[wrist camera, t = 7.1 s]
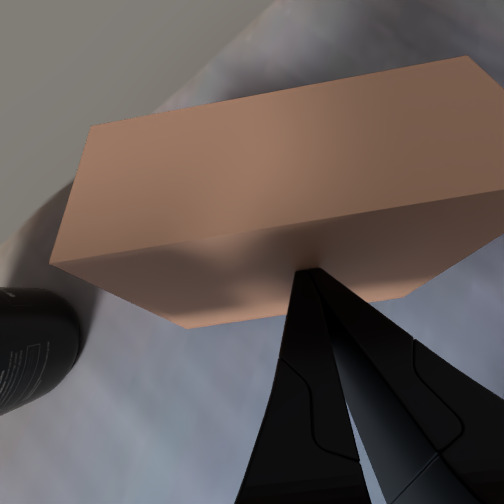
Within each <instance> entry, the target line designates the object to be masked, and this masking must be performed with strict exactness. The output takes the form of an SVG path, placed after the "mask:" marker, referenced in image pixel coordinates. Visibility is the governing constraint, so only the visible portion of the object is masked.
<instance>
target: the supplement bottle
mask: <svg viewBox="0 0 504 504" xmlns="http://www.w3.org/2000/svg"><path fill="white" fill-rule="evenodd" d="M79 343H80V329H79V323H78V320H77V317H76V315H75V312H74V311H73V309H72V307H71V306H70V305H69V304H68V302H67V301H66V300H64V299H63V298H62V297H61V296H59V295H58V294H56V293H54V292H51V291H48V290H45V289H38V288H15V287H0V416H1V415H3V414H6V413H8V412H10V411H12V410H14V409H17V408H19V407H21V406H23V405H25V404H27V403H30V402H32V401H34V400H36V399H38V398H40V397H42V396H44V395H45V394H47V393H48V392H50V391H51V390H52V389H54V388H55V387H56V386H57V385H58V384H59V383H60V382H61V381H62V380H63V379H64V378H65V376H66V375H67V374H68V372H69V371H70V369H71V367H72V365H73V363H74V361H75V359H76V356H77V353H78V349H79Z"/></svg>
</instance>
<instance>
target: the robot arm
mask: <svg viewBox="0 0 504 504" xmlns="http://www.w3.org/2000/svg"><path fill="white" fill-rule="evenodd" d="M345 400H346V401H345ZM346 402H347V405H348V407H349V410H350V412H351V415H352V417H353V420H354V422H355V425H356V427H357V430H358V432H359V435H360V438H361V440H362V443H363V445H364V448H365V450H366V453H367V455H368V458H369V460H370V463H371V465H372V468H373V470H374V473H375V475H376V478H377V480H378V483H379V485H380V488H381V491H382V493H383V496H384V498H385V501H386V503H387V504H504V399H502V398H500V397H499V396H497V395H496V394H494V393H493V392H491V391H490V390H488V389H486V388H485V387H483V386H482V385H480V384H479V383H477V382H476V381H474V380H473V379H471V378H470V377H468V376H467V375H465V374H464V373H462V372H461V371H459V370H458V369H456V368H455V367H453V366H452V365H451V364H449V363H448V362H446V361H445V360H444V359H442V358H441V357H440V356H438V355H437V354H435V353H434V352H433V351H431V350H430V349H429V348H427V347H426V346H425V345H423V344H422V343H421V342H419V341H418V340H416V339H414V340H413V337H412V336H411V335H410V334H408V333H407V332H406V331H404V330H403V329H402V328H400V327H399V326H398V325H396V324H395V323H394V322H392V321H391V320H390V319H388V318H387V317H386V316H384V315H383V314H382V313H380V312H379V311H378V310H376V309H375V308H374V307H373V306H371V305H370V304H369V303H367V302H366V301H365V300H363V299H362V298H361V297H359V296H358V295H357V294H355V293H354V292H353V291H351V290H350V289H349V288H347V287H346V286H345V285H343V284H342V283H341V282H339V281H338V280H337V279H335V278H334V277H333V276H331V275H330V274H329V273H327V272H326V271H325V270H323V269H322V268H319V267H318V268H312V269H309V270H308V271H307V270H299V271H295V273H294V278H293V283H292V289H291V294H290V299H289V305H288V310H287V315H286V321H285V326H284V331H283V336H282V342H281V347H280V352H279V359H278V362H277V367H276V372H275V377H274V381H273V386H272V390H271V394H270V397H269V401H268V404H267V408H266V411H265V414H264V418H263V421H262V424H261V427H260V430H259V433H258V436H257V439H256V442H255V445H254V448H253V451H252V454H251V457H250V460H249V463H248V466H247V469H246V472H245V475H244V478H243V481H242V484H241V487H240V489H239V492H238V495H237V497H236V500H235V502H234V504H372V503H371V500H370V496H369V493H368V490H367V486H366V482H365V479H364V475H363V471H362V467H361V464H360V463H359V462H360V458H359V454H358V450H357V446H356V442H355V438H354V434H353V430H352V426H351V422H350V418H349V414H348V409H347V405H346Z"/></svg>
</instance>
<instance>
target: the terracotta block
mask: <svg viewBox="0 0 504 504" xmlns="http://www.w3.org/2000/svg"><path fill="white" fill-rule="evenodd" d="M503 233H504V89H503V88H502V87H501V86H500V85H499V84H498V83H497V82H496V81H495V80H494V79H493V78H491V77H490V76H489V75H488V74H487V73H486V72H485V71H484V70H483V69H482V68H481V67H480V66H478V65H477V64H476V63H475V62H474V61H473V60H472V59H471V58H470V57H469V56H468V55H466V56H460V57H455V58H450V59H444V60H439V61H434V62H428V63H423V64H418V65H413V66H407V67H402V68H397V69H391V70H386V71H381V72H375V73H370V74H365V75H359V76H354V77H349V78H343V79H338V80H333V81H328V82H322V83H317V84H312V85H306V86H301V87H296V88H290V89H285V90H280V91H274V92H269V93H264V94H258V95H253V96H248V97H243V98H237V99H232V100H227V101H221V102H216V103H211V104H205V105H200V106H195V107H189V108H184V109H179V110H173V111H168V112H163V113H158V114H152V115H147V116H142V117H136V118H132V119H126V120H120V121H115V122H110V123H104V124H99V125H94V126H91V128H90V131H89V134H88V137H87V140H86V144H85V147H84V151H83V153H82V157H81V160H80V163H79V167H78V170H77V173H76V176H75V179H74V183H73V186H72V189H71V192H70V196H69V199H68V202H67V206H66V209H65V212H64V215H63V219H62V222H61V225H60V228H59V232H58V235H57V238H56V241H55V245H54V248H53V251H52V254H51V258H50V261H49V264H51V265H53V266H55V267H57V268H59V269H61V270H63V271H65V272H67V273H70V274H72V275H74V276H76V277H78V278H80V279H82V280H84V281H86V282H89V283H91V284H93V285H95V286H97V287H99V288H101V289H103V290H105V291H108V292H110V293H112V294H114V295H116V296H118V297H120V298H122V299H125V300H127V301H129V302H131V303H133V304H135V305H137V306H139V307H141V308H144V309H146V310H148V311H150V312H152V313H154V314H156V315H158V316H160V317H163V318H165V319H167V320H169V321H171V322H173V323H175V324H177V325H179V326H182V327H184V328H186V329H190V328H197V327H204V326H211V325H217V324H224V323H231V322H238V321H245V320H252V319H258V318H265V317H272V316H279V315H286V314H287V310H288V305H289V299H290V294H291V289H292V283H293V278H294V273H295V271H299V270H307V271H308V270H309V269H312V268H318V267H319V268H322V269H323V270H325V271H326V272H327V273H329V274H330V275H331V276H333V277H334V278H335V279H337V280H338V281H339V282H341V283H342V284H343V285H345V286H346V287H347V288H349V289H350V290H351V291H353V292H354V293H355V294H357V295H358V296H359V297H361V298H362V299H363V300H365V301H366V302H367V303H368V302H375V301H382V300H388V299H395V298H402V297H404V296H406V295H407V294H409V293H410V292H412V291H414V290H415V289H417V288H418V287H420V286H421V285H423V284H425V283H426V282H428V281H429V280H431V279H433V278H434V277H436V276H437V275H439V274H440V273H442V272H444V271H445V270H447V269H448V268H450V267H451V266H453V265H455V264H456V263H458V262H459V261H461V260H462V259H464V258H466V257H467V256H469V255H470V254H472V253H473V252H475V251H477V250H478V249H480V248H481V247H483V246H484V245H486V244H488V243H489V242H491V241H492V240H494V239H495V238H497V237H499V236H500V235H502V234H503Z"/></svg>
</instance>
